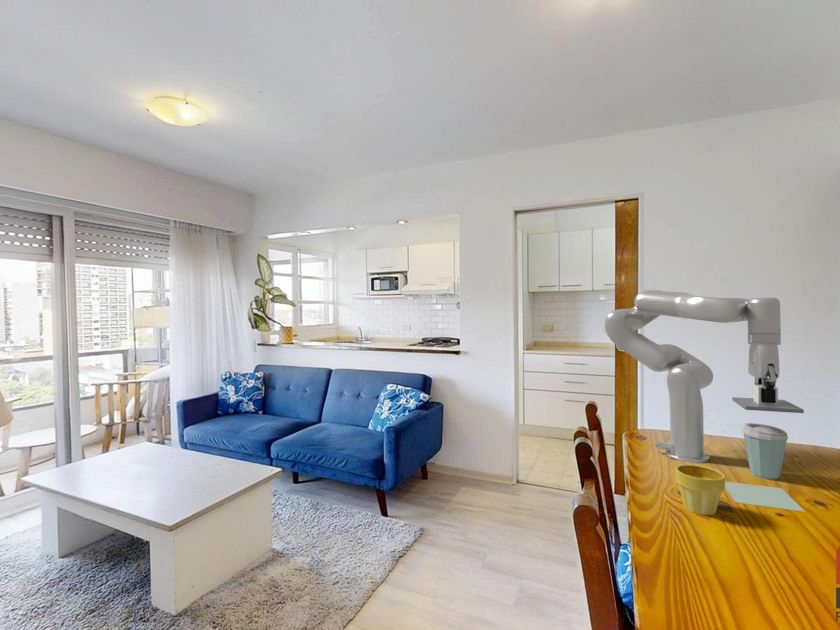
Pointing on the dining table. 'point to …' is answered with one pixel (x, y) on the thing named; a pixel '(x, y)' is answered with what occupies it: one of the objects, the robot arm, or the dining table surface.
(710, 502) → the plant pot
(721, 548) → the dining table surface
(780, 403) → the lid
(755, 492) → the mat
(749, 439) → the disposable coffee cup
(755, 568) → the dining table surface
